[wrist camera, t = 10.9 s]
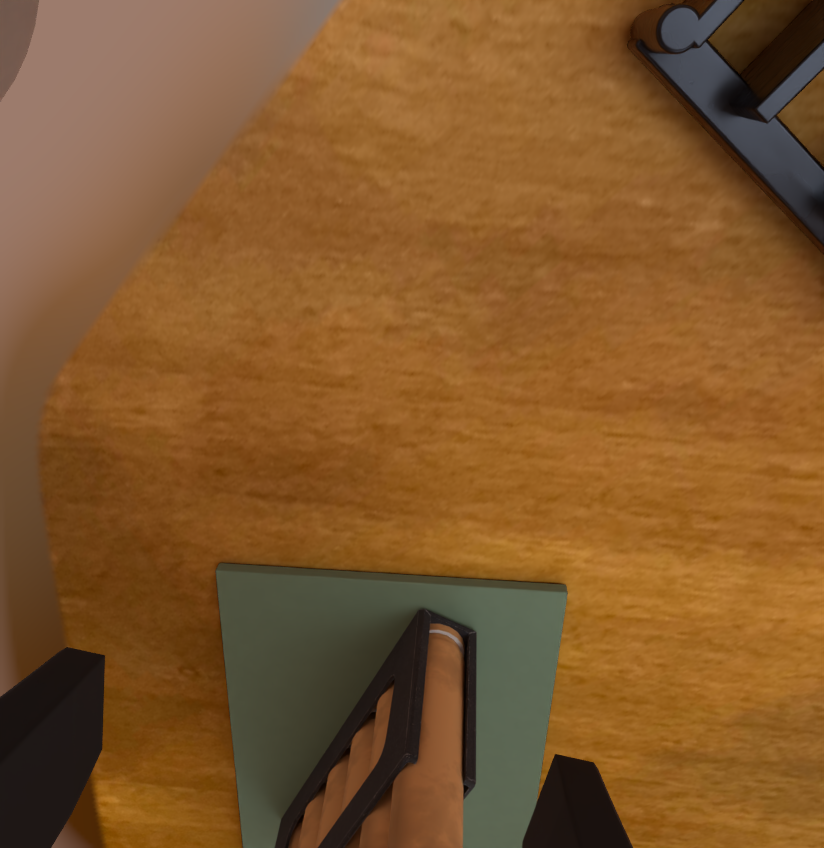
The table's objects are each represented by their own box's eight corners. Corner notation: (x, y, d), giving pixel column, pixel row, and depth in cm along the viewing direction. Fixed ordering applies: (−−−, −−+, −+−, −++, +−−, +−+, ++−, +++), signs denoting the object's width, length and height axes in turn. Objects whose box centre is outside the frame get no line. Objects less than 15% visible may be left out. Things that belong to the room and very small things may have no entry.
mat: (218, 562, 22) (215, 570, 22) (566, 584, 22) (567, 592, 22) (249, 873, 29) (245, 883, 28) (520, 894, 28) (521, 905, 28)
